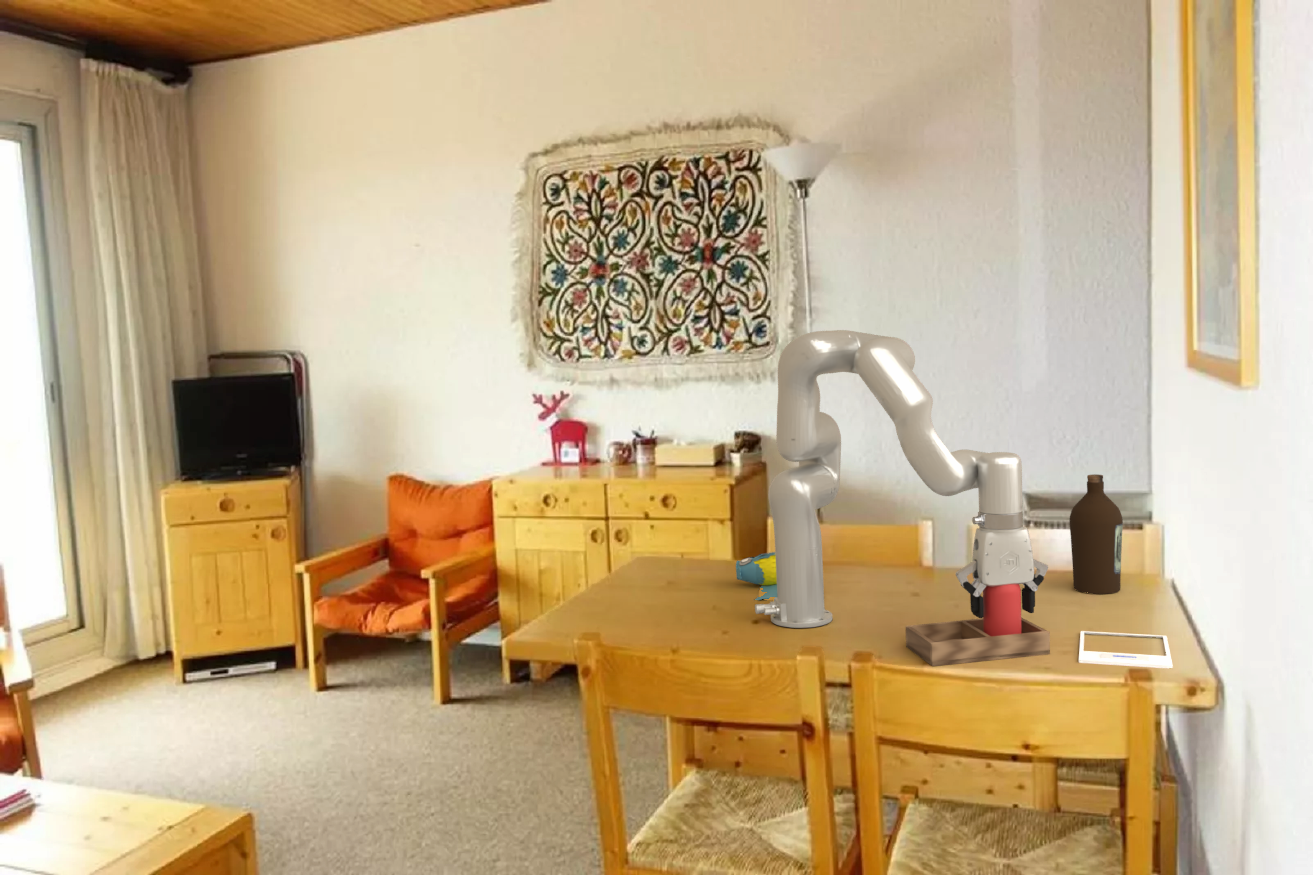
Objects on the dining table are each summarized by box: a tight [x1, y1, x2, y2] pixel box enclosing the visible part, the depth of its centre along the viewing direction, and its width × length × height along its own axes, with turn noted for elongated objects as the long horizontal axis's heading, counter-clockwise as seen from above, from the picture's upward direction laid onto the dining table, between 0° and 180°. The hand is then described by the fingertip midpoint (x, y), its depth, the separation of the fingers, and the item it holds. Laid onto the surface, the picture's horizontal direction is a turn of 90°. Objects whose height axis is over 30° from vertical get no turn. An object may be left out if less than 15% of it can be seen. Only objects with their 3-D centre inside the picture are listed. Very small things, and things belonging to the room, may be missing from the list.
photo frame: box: [1078, 630, 1174, 669], centre depth 189 cm, size 15×1×18 cm
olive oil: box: [1069, 473, 1124, 595], centre depth 230 cm, size 11×11×25 cm
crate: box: [905, 616, 1051, 667], centre depth 194 cm, size 22×12×4 cm, turn 99°
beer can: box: [982, 584, 1022, 636], centre depth 194 cm, size 7×7×12 cm
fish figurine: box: [735, 551, 777, 601], centre depth 251 cm, size 28×9×15 cm
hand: (1003, 613), depth 194 cm, fingers open, 9 cm apart
